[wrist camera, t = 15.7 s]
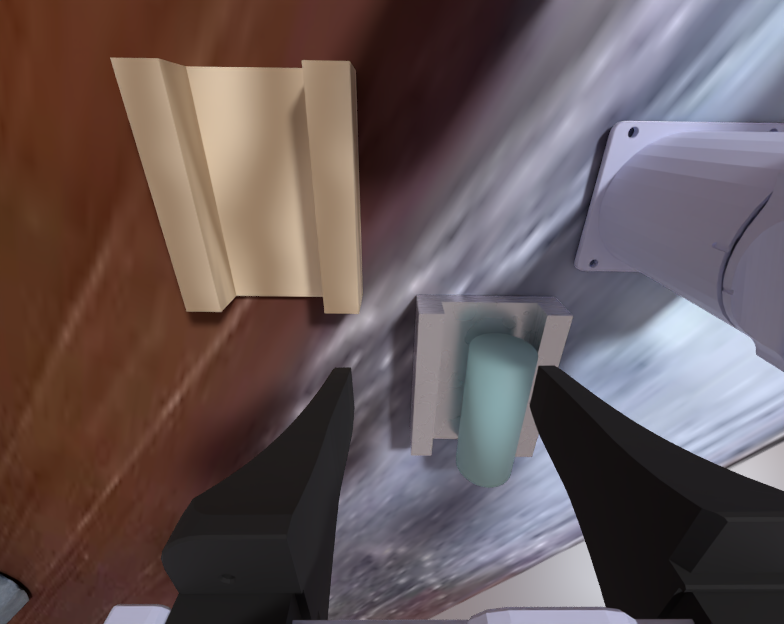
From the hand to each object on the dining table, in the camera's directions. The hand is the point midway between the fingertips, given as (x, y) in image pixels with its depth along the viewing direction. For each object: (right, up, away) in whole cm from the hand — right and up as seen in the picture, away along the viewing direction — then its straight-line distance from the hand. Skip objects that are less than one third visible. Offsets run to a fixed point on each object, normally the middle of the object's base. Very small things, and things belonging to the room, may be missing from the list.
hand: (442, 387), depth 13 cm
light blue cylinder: (+5, -4, +10) cm, 12 cm away
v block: (+4, -1, +12) cm, 13 cm away
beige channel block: (-9, +9, +6) cm, 14 cm away
